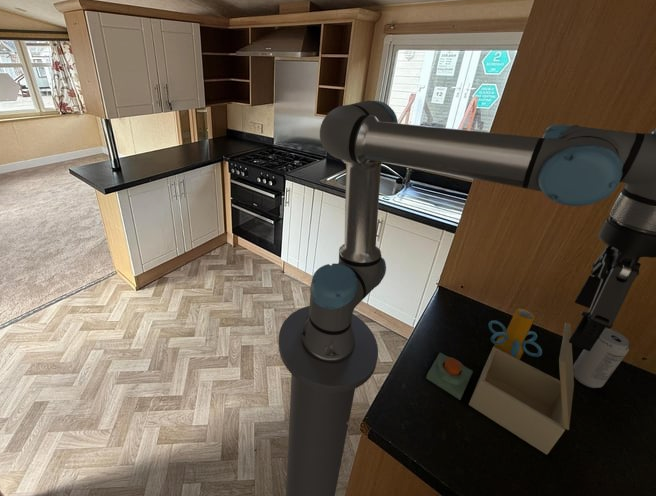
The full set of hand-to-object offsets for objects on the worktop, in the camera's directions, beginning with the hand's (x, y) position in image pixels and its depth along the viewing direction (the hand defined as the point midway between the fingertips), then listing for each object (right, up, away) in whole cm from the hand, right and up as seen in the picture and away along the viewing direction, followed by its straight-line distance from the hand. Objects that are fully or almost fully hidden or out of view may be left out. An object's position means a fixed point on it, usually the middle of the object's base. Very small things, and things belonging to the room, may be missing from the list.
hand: (581, 324), depth 58 cm
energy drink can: (+22, -22, +21) cm, 38 cm away
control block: (-13, -22, +21) cm, 33 cm away
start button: (-13, -19, +20) cm, 30 cm away
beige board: (+1, -12, +5) cm, 13 cm away
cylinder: (+6, -19, +27) cm, 34 cm away
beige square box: (-2, -25, +15) cm, 29 cm away
